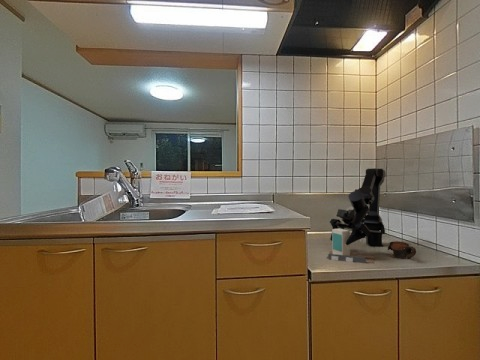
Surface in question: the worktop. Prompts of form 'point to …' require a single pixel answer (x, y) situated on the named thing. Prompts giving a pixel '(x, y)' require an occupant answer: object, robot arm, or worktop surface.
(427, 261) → the worktop surface
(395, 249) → the pottery mug
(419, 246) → the worktop surface
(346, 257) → the rail
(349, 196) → the robot arm
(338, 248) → the carton
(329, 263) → the worktop surface
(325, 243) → the worktop surface
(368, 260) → the shelf board
